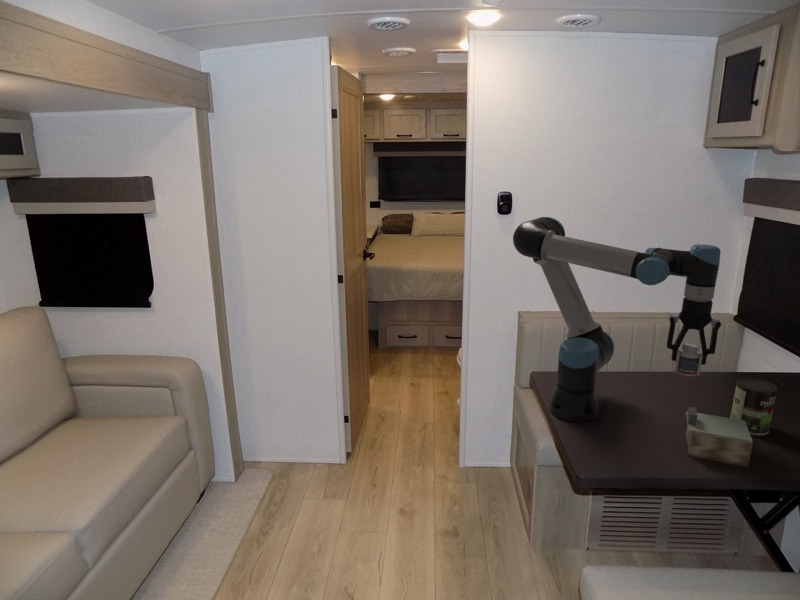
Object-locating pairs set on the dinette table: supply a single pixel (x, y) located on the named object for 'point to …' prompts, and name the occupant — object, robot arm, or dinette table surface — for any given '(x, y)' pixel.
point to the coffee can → (754, 404)
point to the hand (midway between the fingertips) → (686, 372)
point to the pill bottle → (688, 360)
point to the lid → (717, 426)
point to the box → (718, 449)
